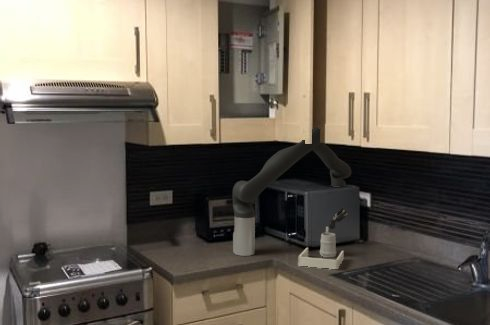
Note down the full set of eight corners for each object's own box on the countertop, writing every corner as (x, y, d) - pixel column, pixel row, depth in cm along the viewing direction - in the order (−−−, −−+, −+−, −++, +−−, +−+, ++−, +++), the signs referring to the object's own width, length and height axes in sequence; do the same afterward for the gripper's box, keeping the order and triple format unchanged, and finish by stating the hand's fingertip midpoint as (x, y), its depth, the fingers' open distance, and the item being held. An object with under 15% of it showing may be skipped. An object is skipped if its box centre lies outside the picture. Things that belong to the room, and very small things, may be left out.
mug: (320, 257, 240) (320, 231, 239) (318, 250, 252) (318, 225, 251) (337, 258, 240) (338, 231, 239) (334, 251, 252) (335, 225, 250)
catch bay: (306, 256, 242) (306, 247, 242) (343, 259, 237) (343, 250, 237) (297, 266, 227) (298, 256, 226) (337, 270, 221) (337, 260, 221)
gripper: (322, 193, 264) (316, 222, 253) (349, 194, 259) (345, 224, 249) (324, 202, 269) (319, 231, 259) (350, 203, 265) (346, 233, 254)
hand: (331, 228), depth 254 cm, fingers closed
